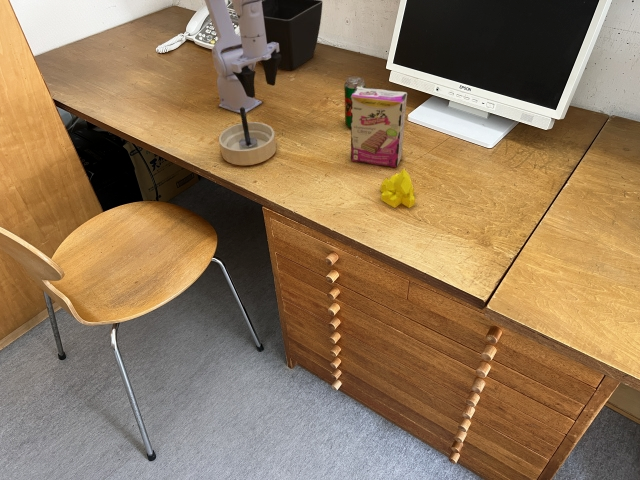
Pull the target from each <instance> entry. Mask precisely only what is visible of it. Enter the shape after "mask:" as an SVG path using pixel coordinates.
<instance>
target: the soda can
mask: <svg viewBox="0 0 640 480" xmlns="http://www.w3.org/2000/svg"><path fill="white" fill-rule="evenodd" d="M343 86H344V87H343V89H344V124H345V126H346V127H347V128H348V129H351V96H352V94H353V93H354V91H355V89H356V88H357V87H364V88H366V82H365V80H364V78H363V77H361V76H350V77H347V78H346V80H345V82H344V85H343Z"/></svg>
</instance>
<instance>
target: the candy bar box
mask: <svg viewBox="0 0 640 480" xmlns="http://www.w3.org/2000/svg"><path fill="white" fill-rule="evenodd" d="M407 99H408V92H406V91H399V90H389V89H381V88H372V87H365V88H364V87H357V88H356V89H355V91H354V93H353V94H352V96H351V128H350V161H351V162H357V163H363V164H370V165H377V166H382V167H383V166H384V167H388V168H389V167H390V168H398V166H399V164H400V162H401V159H402V158H403V157H402V156H403V146H404V145H403V144H404V131H405V124H406V123H405V122H406V110H407Z"/></svg>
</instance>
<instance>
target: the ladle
mask: <svg viewBox="0 0 640 480" xmlns="http://www.w3.org/2000/svg"><path fill="white" fill-rule="evenodd" d="M239 114H240V120H241V123H242V125H243V131H244V136H245V138H242V139H241V140H240V141H239V146H240V150H244V149H252V148H256V147H258V142H257V139H256V138H254V137H250V135H249V129H248V124H247V122H248V119H247V118H248V117H247V113H246V112H245V108H244V107H241V108H240V113H239Z"/></svg>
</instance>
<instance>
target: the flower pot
mask: <svg viewBox="0 0 640 480" xmlns="http://www.w3.org/2000/svg"><path fill="white" fill-rule="evenodd" d="M261 2H262V9H263V17H264V25H265V33H266V41H267V44H269V43H271V42H275V43H279V52H277V53H276V54H280V55H281V61H280V63H279V66H278V69H280V70H281V69H282V70H286V71H295V70H296V69H298V68H299V67H300V66H302V65H304V63H306V62H308V61H309V60H310V59H312V58H313V57H314V54H315V51H316V47H317V43H318V39H319V34H320V29H321V20H322V14H323V0H263V1H261ZM259 62H260V65H262V62H261V61H259Z"/></svg>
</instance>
